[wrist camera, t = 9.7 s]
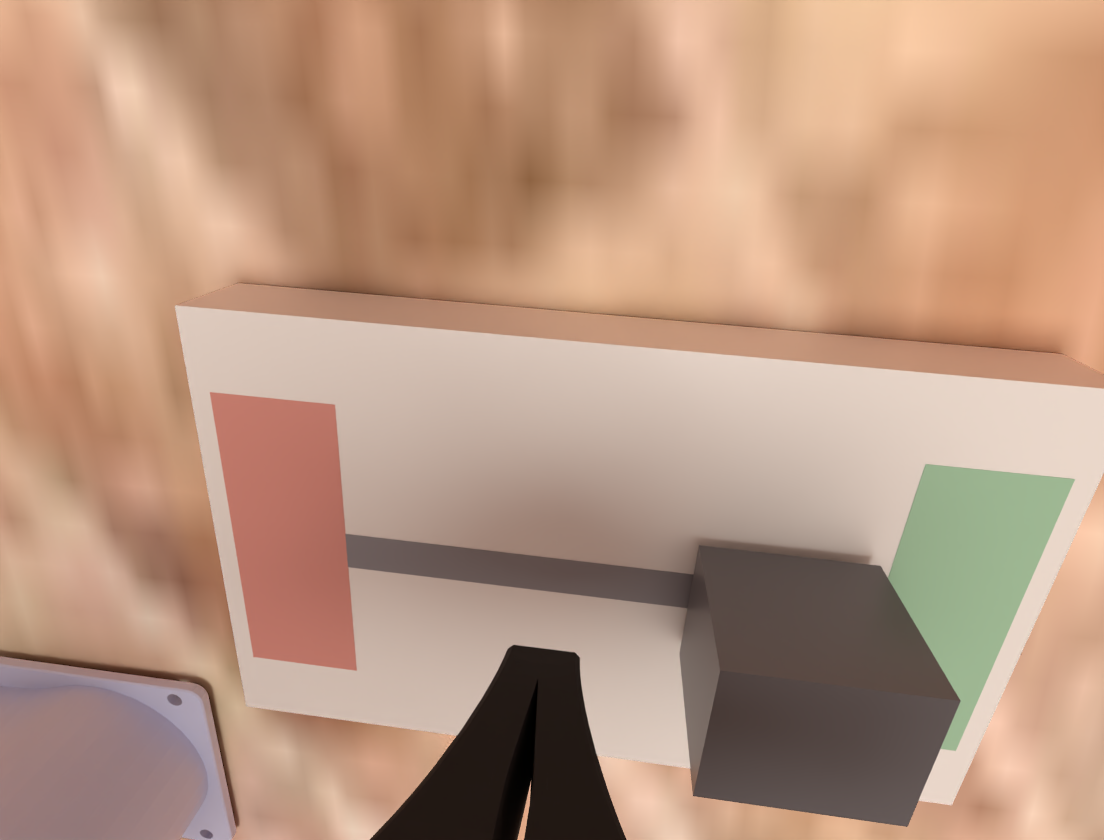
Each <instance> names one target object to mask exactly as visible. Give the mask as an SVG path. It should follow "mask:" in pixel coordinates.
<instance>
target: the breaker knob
mask: <svg viewBox="0 0 1104 840" xmlns="http://www.w3.org/2000/svg"><path fill="white" fill-rule="evenodd" d="M679 655H680V665H681V676H682V686H683V697H684V707H685V718H686V728H687V738H688V749H689V759H690V770H691V780H692V791H693V796H697V797H704V798H711V799H718V800H725V801H732V802H739V803H746V804H753V805H760V806H767V807H774V808H781V809H788V810H795V811H802V812H808V813H815V814H822V815H829V816H836V817H843V818H850V819H857V820H864V821H871V822H878V823H885V824H892V825H899V826H906V827H907V826H908V824H909V822H910V819H911V817H912V815H913V812H914V810H915V808H916V805H917V803H918V800H919V798H920V796H921V793H922V791H923V789H924V786H925V784H926V782H927V779H928V777H929V775H930V772H931V770H932V768H933V765H934V763H935V760H936V758H937V756H938V753H939V751H940V749H941V746H942V744H943V742H944V739H945V737H946V735H947V732H948V730H949V728H950V725H951V723H952V720H953V718H954V716H955V713H956V711H957V709H958V706H959V704H960V702H961V701H960V699H959V697H958V696H957V694H956V692H955V691H954V689H953V687H952V686H951V684H950V682H949V680H948V679H947V677H946V675H945V674H944V672H943V670H942V669H941V667H940V665H939V664H938V662H937V660H936V659H935V657H934V655H933V653H932V652H931V650H930V648H929V647H928V645H927V643H926V642H925V640H924V638H923V637H922V635H921V633H920V631H919V630H918V628H917V626H916V625H915V623H914V621H913V620H912V618H911V616H910V615H909V613H908V611H907V610H906V608H905V606H904V604H903V603H902V601H901V599H900V598H899V596H898V594H897V593H896V591H895V589H894V588H893V586H892V584H891V583H890V581H889V579H888V577H887V576H886V574H885V572H884V571H883V569H882V567H881V566H878V565H869V564H860V563H852V562H843V561H834V560H825V559H816V558H807V557H799V556H790V555H781V554H772V553H763V552H754V551H745V550H737V549H728V548H719V547H710V546H701V545H699V547H698V553H697V559H696V564H695V570H694V575H693V581H692V586H691V592H690V597H689V603H688V608H687V614H686V619H685V625H684V631H683V636H682V642H681V647H680V653H679Z"/></svg>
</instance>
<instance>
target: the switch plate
mask: <svg viewBox="0 0 1104 840" xmlns="http://www.w3.org/2000/svg"><path fill="white" fill-rule="evenodd" d="M175 310H176V315H177V321H178V326H179V332H180V338H181V343H182V349H183V354H184V360H185V366H186V371H187V377H188V383H189V388H190V394H191V399H192V405H193V411H194V416H195V422H196V427H197V433H198V439H199V444H200V450H201V455H202V461H203V467H204V472H205V478H206V484H207V489H208V495H209V500H210V506H211V512H212V517H213V523H214V528H215V534H216V540H217V545H218V551H219V556H220V562H221V568H222V573H223V579H224V585H225V590H226V596H227V601H228V607H229V613H230V618H231V624H232V629H233V635H234V641H235V646H236V652H237V657H238V663H239V669H240V674H241V680H242V686H243V691H244V697H245V702H246V706H248V707H255V708H262V709H269V710H276V711H284V712H291V713H298V714H305V715H312V716H319V717H326V718H333V719H341V720H348V721H355V722H362V723H369V724H376V725H383V726H390V727H398V728H405V729H412V730H419V731H426V732H433V733H440V734H447V735H455V736H457V735H458V734H459V732H460V731H461V729H462V728H463V726H464V725H465V723H466V722H467V720H468V719H469V717H470V716H471V714H472V713H473V711H474V710H475V708H476V706H477V705H478V703H479V702H480V700H481V699H482V697H483V695H484V694H485V692H486V690H487V689H488V687H489V685H490V683H491V682H492V680H493V678H494V676H495V674H496V673H497V671H498V669H499V667H500V665H501V663H502V661H503V658H504V656H505V654H506V651H507V649H508V648H509V647H511V646H512V645H520V646H528V647H536V648H544V649H552V650H560V651H568V652H575V653H576V654H577V655H578V656H579V657H580V677H581V685H582V692H583V698H584V704H585V709H586V714H587V719H588V723H589V727H590V731H591V735H592V739H593V743H594V746H595V750H596V754H597V756H604V757H611V758H619V759H626V760H633V761H640V762H647V763H654V764H661V765H668V766H676V767H683V768H690V759H689V749H688V738H687V728H686V718H685V707H684V697H683V686H682V676H681V665H680V655H679V653H680V647H681V642H682V636H683V631H684V625H685V619H686V614H687V608H688V603H689V597H690V592H691V586H692V581H693V575H694V570H695V564H696V559H697V553H698V547H699V545H701V546H710V547H719V548H728V549H737V550H745V551H754V552H763V553H772V554H781V555H790V556H799V557H807V558H816V559H825V560H834V561H843V562H852V563H860V564H869V565H878V566H881V567H882V569H883V571H884V572H885V574H886V576H887V577H888V579H889V581H890V583H891V584H892V586H893V588H894V589H895V591H896V593H897V594H898V596H899V598H900V599H901V601H902V603H903V604H904V606H905V608H906V610H907V611H908V613H909V615H910V616H911V618H912V620H913V621H914V623H915V625H916V626H917V628H918V630H919V631H920V633H921V635H922V637H923V638H924V640H925V642H926V643H927V645H928V647H929V648H930V650H931V652H932V653H933V655H934V657H935V659H936V660H937V662H938V664H939V665H940V667H941V669H942V670H943V672H944V674H945V675H946V677H947V679H948V680H949V682H950V684H951V686H952V687H953V689H954V691H955V692H956V694H957V696H958V697H959V699H960V701H961V702H960V704H959V706H958V709H957V711H956V713H955V716H954V718H953V720H952V723H951V725H950V728H949V730H948V732H947V735H946V737H945V739H944V742H943V744H942V746H941V749H940V751H939V753H938V756H937V758H936V760H935V763H934V765H933V768H932V770H931V772H930V775H929V777H928V779H927V782H926V784H925V786H924V789H923V791H922V793H921V796H920V798H919V800H918V801H925V802H932V803H939V804H946V805H952V804H953V801H954V799H955V797H956V795H957V793H958V790H959V788H960V786H961V784H962V782H963V779H964V777H965V775H966V773H967V771H968V769H969V766H970V764H971V762H972V760H973V758H974V755H975V753H976V751H977V749H978V747H979V744H980V742H981V740H982V738H983V736H984V734H985V731H986V729H987V727H988V725H989V723H990V720H991V718H992V716H993V714H994V712H995V710H996V707H997V705H998V703H999V701H1000V699H1001V696H1002V694H1003V692H1004V690H1005V688H1006V685H1007V683H1008V681H1009V679H1010V677H1011V675H1012V672H1013V670H1014V668H1015V666H1016V664H1017V661H1018V659H1019V657H1020V655H1021V653H1022V651H1023V648H1024V646H1025V644H1026V642H1027V640H1028V637H1029V635H1030V633H1031V631H1032V629H1033V626H1034V624H1035V622H1036V620H1037V618H1038V616H1039V613H1040V611H1041V609H1042V607H1043V605H1044V602H1045V600H1046V598H1047V596H1048V594H1049V592H1050V589H1051V587H1052V585H1053V583H1054V581H1055V578H1056V576H1057V574H1058V572H1059V570H1060V567H1061V565H1062V563H1063V561H1064V559H1065V557H1066V554H1067V552H1068V550H1069V548H1070V546H1071V543H1072V541H1073V539H1074V537H1075V535H1076V532H1077V530H1078V528H1079V526H1080V524H1081V522H1082V519H1083V517H1084V515H1085V513H1086V511H1087V508H1088V506H1089V504H1090V502H1091V500H1092V498H1093V495H1094V493H1095V491H1096V489H1097V487H1098V484H1099V482H1100V480H1101V478H1102V476H1103V473H1104V374H1103V373H1101V372H1099V371H1097V370H1095V369H1092V368H1090V367H1088V366H1086V365H1084V364H1082V363H1080V362H1078V361H1076V360H1074V359H1072V358H1070V357H1068V356H1066V355H1064V354H1058V353H1046V352H1035V351H1023V350H1011V349H1000V348H988V347H977V346H965V345H953V344H942V343H930V342H919V341H907V340H895V339H884V338H872V337H861V336H849V335H837V334H826V333H814V332H802V331H791V330H779V329H768V328H756V327H744V326H733V325H721V324H710V323H698V322H686V321H675V320H663V319H651V318H640V317H628V316H617V315H605V314H593V313H582V312H570V311H559V310H547V309H535V308H524V307H512V306H501V305H489V304H477V303H466V302H454V301H442V300H431V299H419V298H408V297H396V296H384V295H373V294H361V293H350V292H338V291H326V290H315V289H303V288H292V287H280V286H268V285H257V284H245V283H236V284H233V285H231V286H228V287H225V288H222V289H219V290H217V291H214V292H211V293H208V294H205V295H202V296H200V297H197V298H194V299H191V300H188V301H186V302H183V303H180V304H177V305H175Z"/></svg>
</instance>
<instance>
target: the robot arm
mask: <svg viewBox="0 0 1104 840" xmlns="http://www.w3.org/2000/svg"><path fill="white" fill-rule="evenodd" d="M530 782H531V795H530V807H529V813H528V819H527V826H526V832H525V838H524V840H626V837H625V835H624V833H623V830H622V828H621V825H620V823H619V820H618V817H617V815H616V812H615V809H614V806H613V804H612V801H611V798H610V795H609V792H608V789H607V786H606V783H605V780H604V777H603V774H602V771H601V767H600V764H599V761H598V757H597V754H596V750H595V746H594V743H593V739H592V735H591V731H590V727H589V723H588V719H587V714H586V709H585V704H584V698H583V692H582V685H581V677H580V657H579V656H578V655H577V654H576V653H575V652H568V651H560V650H552V649H544V648H536V647H528V646H520V645H512V646H511V647H509V648H508V649H507V651H506V654H505V656H504V658H503V661H502V663H501V665H500V667H499V669H498V671H497V673H496V674H495V676H494V678H493V680H492V682H491V683H490V685H489V687H488V689H487V690H486V692H485V694H484V695H483V697H482V699H481V700H480V702H479V703H478V705H477V706H476V708H475V710H474V711H473V713H472V714H471V716H470V717H469V719H468V720H467V722H466V723H465V725H464V726H463V728H462V729H461V731H460V732H459V734H458V735H457V736H456V738H455V739H454V741H453V742H452V743H451V745H450V746H449V747H448V749H447V750H446V751H445V753H444V754H443V755H442V757H441V758H440V759H439V761H438V762H437V764H436V765H435V766H434V767H433V769H432V770H431V771H430V772H429V774H428V775H427V776H426V777H425V779H424V780H423V781H422V782H421V784H420V785H419V786H418V787H417V788H416V790H415V791H414V792H413V793H412V794H411V795H410V797H409V798H408V799H407V800H406V801H405V802H404V803H403V805H402V806H401V807H400V808H399V809H398V810H397V811H396V813H395V814H394V815H393V816H392V817H391V818H390V819H389V820H388V821H387V822H386V823H385V824H384V825H383V826H382V827H381V828H380V829H379V831H378V832H377V833H376V834H375V835H374V836H373V837H372V838H371V839H370V840H517V839H518V834H519V830H520V826H521V821H522V817H523V813H524V808H525V804H526V800H527V795H528V791H529V787H530ZM235 833H236V826H235V821H234V816H233V811H232V807H231V802H230V797H229V792H228V787H227V783H226V778H225V773H224V768H223V763H222V759H221V754H220V749H219V744H218V739H217V735H216V730H215V725H214V720H213V715H212V711H211V706H210V701H209V696H208V694H207V691H206V690H205V689H204V688H203V687H202V686H200V685H198V684H195V683H189V682H182V681H175V680H167V679H160V678H153V677H146V676H138V675H131V674H124V673H117V672H110V671H102V670H95V669H88V668H81V667H73V666H66V665H59V664H52V663H44V662H37V661H30V660H23V659H16V658H8V657H1V656H0V840H180V838H181V837H182V838H188V839H194V840H232V838H233V837H234V835H235Z"/></svg>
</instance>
